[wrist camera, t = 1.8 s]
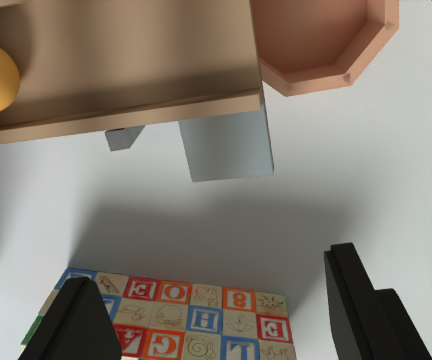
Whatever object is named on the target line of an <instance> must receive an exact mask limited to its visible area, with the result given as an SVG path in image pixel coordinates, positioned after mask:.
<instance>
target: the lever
mask: <svg viewBox="0 0 432 360" xmlns="http://www.w3.org/2000/svg"><path fill="white" fill-rule="evenodd" d="M0 48H1V49H2V50H4V51H5V52H6V53H7V54H8V55H9V56H10V57H11V59H12V60H13V61H14V63H15V65H16V67H17V69H18V72H19V76H20V87H19V91H18V94H17V96H16V98H15V99H14V101H13V102H12V103H11V104H10V105H9V106H8V107H6V108H5V109H3V110H1V111H0V144H5V143H12V142H20V141H28V140H35V139H43V138H50V137H58V136H66V135H73V134H81V133H88V132H96V131H104V130H111V129H119V128H126V127H134V126H141V125H149V124H157V123H164V122H172V121H178V122H179V127H180V131H181V135H182V140H183V144H184V148H185V152H186V157H187V161H188V165H189V170H190V174H191V178H192V182H199V181H210V180H221V179H232V178H243V177H254V176H265V175H273V172H274V164H273V157H272V149H271V142H270V135H269V128H268V120H267V113H266V106H265V98H264V91H263V84H262V77H261V69H260V62H259V55H258V47H257V40H256V33H255V26H254V18H253V11H252V4H251V0H0Z"/></svg>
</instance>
